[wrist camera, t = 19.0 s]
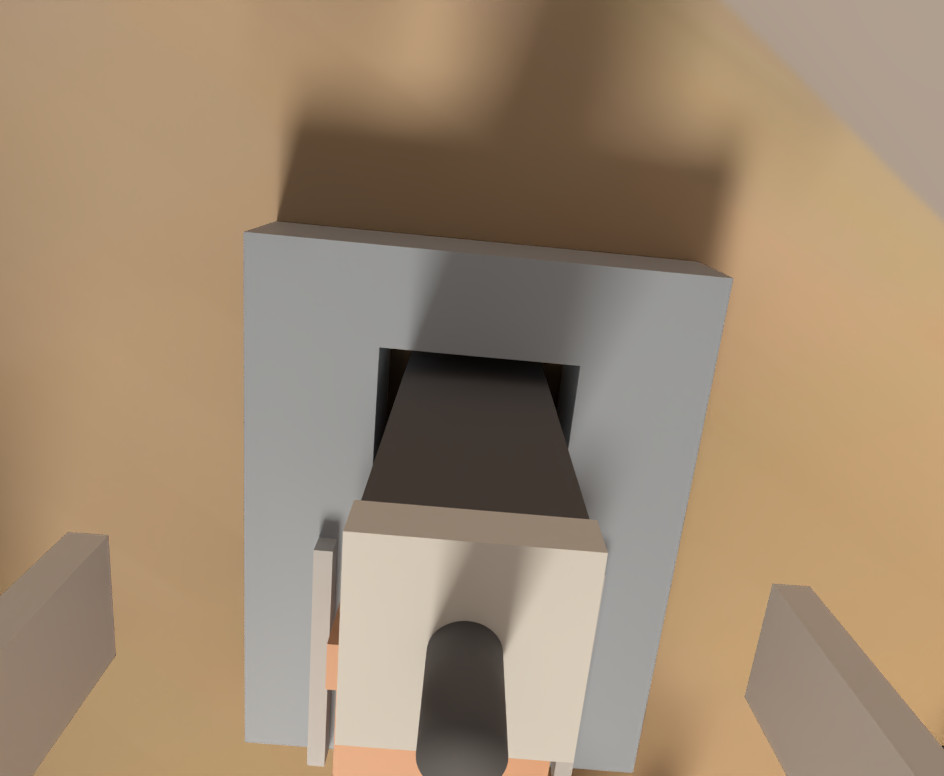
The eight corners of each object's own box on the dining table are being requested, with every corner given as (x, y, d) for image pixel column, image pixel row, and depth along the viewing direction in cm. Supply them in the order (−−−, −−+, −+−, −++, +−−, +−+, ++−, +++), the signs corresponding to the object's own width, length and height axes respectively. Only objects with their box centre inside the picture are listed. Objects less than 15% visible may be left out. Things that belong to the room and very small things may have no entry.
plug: (410, 343, 25) (313, 615, 10) (542, 354, 25) (636, 640, 10) (402, 465, 26) (306, 860, 12) (528, 475, 27) (592, 881, 12)
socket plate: (271, 675, 29) (237, 759, 25) (276, 221, 24) (234, 235, 20) (615, 703, 30) (637, 791, 25) (697, 261, 24) (743, 282, 20)
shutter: (341, 742, 26) (319, 838, 22) (350, 568, 23) (326, 644, 20) (539, 758, 26) (549, 856, 22) (565, 587, 24) (581, 665, 20)
